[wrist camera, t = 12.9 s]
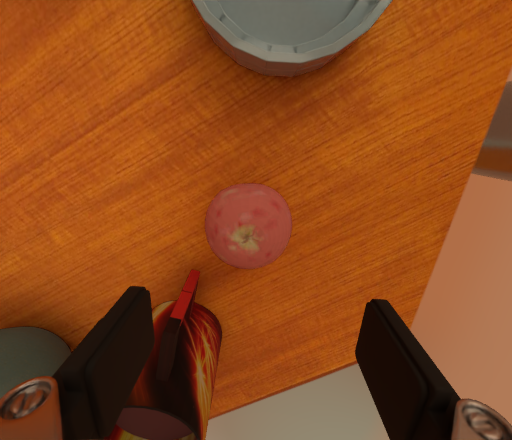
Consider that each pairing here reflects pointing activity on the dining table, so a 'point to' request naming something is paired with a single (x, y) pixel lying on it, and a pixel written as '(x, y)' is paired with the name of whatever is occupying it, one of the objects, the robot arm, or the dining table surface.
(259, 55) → the bowl
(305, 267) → the dining table surface
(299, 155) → the dining table surface
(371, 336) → the robot arm
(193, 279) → the mug
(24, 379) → the deep teal bowl
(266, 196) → the apple
